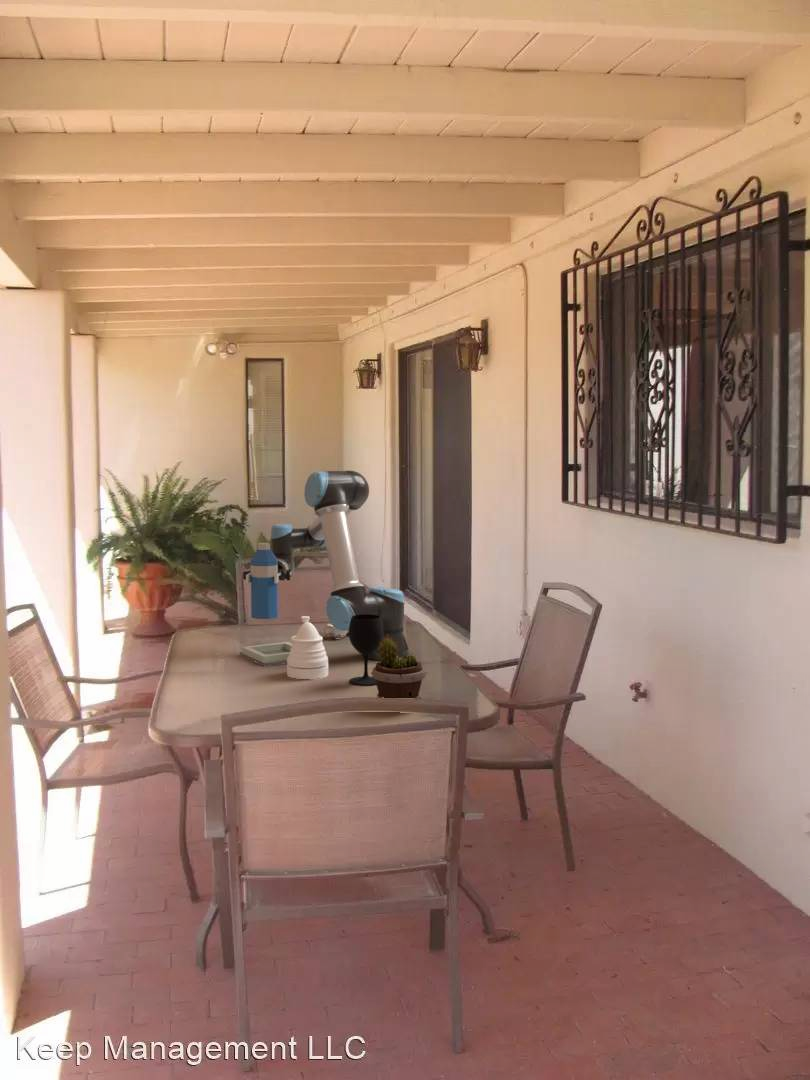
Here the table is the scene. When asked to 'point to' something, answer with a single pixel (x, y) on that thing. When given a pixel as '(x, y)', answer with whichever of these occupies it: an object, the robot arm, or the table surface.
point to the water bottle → (264, 583)
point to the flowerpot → (397, 673)
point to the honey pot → (307, 653)
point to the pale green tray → (268, 653)
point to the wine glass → (365, 642)
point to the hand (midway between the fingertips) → (261, 579)
